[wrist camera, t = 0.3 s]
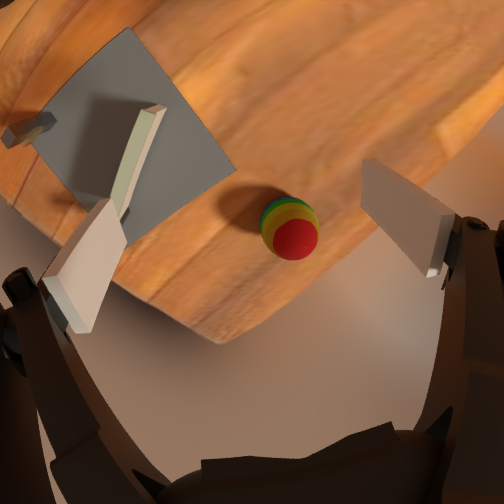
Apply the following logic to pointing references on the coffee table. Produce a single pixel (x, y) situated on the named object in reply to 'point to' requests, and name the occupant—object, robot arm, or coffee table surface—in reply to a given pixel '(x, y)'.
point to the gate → (135, 156)
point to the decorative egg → (289, 228)
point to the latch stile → (27, 130)
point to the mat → (119, 131)
